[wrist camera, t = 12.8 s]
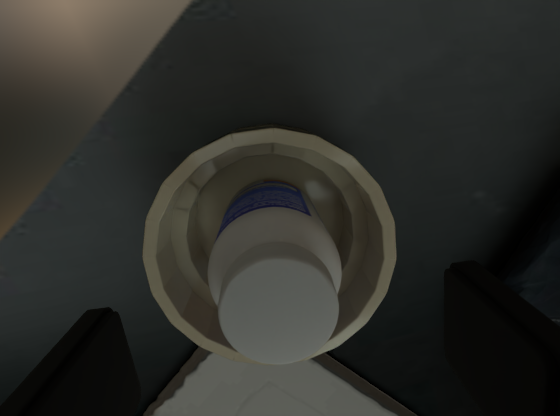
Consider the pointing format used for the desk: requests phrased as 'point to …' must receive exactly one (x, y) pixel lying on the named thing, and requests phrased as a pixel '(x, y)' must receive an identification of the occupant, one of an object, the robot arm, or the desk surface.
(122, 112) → the desk surface
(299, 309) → the pill bottle
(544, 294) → the black pouch
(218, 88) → the desk surface
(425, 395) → the desk surface
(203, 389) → the picture frame
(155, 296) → the basin
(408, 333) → the desk surface
